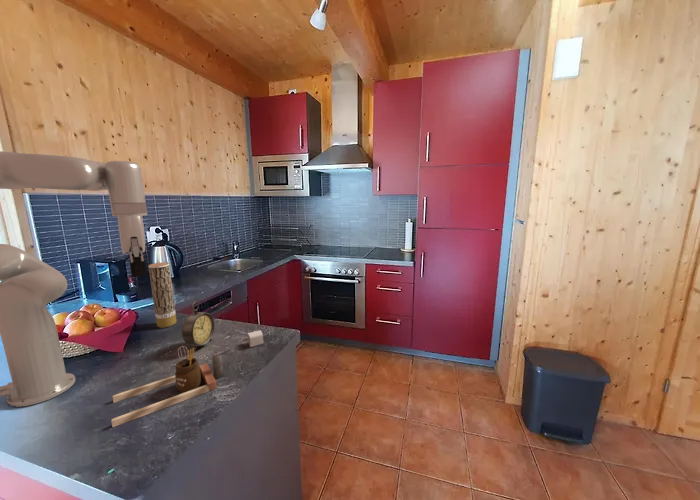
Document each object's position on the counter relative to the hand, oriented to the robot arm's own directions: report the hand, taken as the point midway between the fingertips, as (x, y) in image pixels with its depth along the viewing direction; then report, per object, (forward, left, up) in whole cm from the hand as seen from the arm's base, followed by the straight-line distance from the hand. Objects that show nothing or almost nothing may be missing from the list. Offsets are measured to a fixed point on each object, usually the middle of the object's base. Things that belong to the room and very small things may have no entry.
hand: (138, 272), depth 80 cm
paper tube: (+7, +35, -31) cm, 47 cm away
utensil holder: (+7, -14, -31) cm, 34 cm away
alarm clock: (+14, +8, -31) cm, 34 cm away
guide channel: (+3, -14, -30) cm, 34 cm away
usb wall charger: (+29, -2, -31) cm, 42 cm away
